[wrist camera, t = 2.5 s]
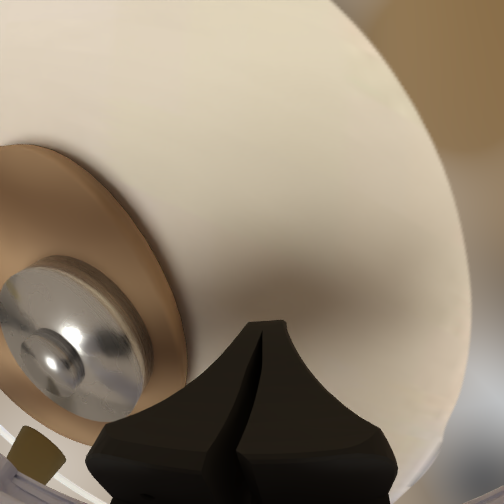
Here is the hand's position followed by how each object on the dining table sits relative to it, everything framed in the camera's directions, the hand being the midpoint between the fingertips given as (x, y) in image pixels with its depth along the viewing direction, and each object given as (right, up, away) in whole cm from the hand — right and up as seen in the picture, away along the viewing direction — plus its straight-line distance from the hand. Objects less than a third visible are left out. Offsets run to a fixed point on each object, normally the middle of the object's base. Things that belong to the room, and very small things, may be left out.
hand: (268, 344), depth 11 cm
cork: (-23, -18, +12) cm, 31 cm away
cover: (-9, -1, +2) cm, 9 cm away
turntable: (-14, 0, +5) cm, 14 cm away
